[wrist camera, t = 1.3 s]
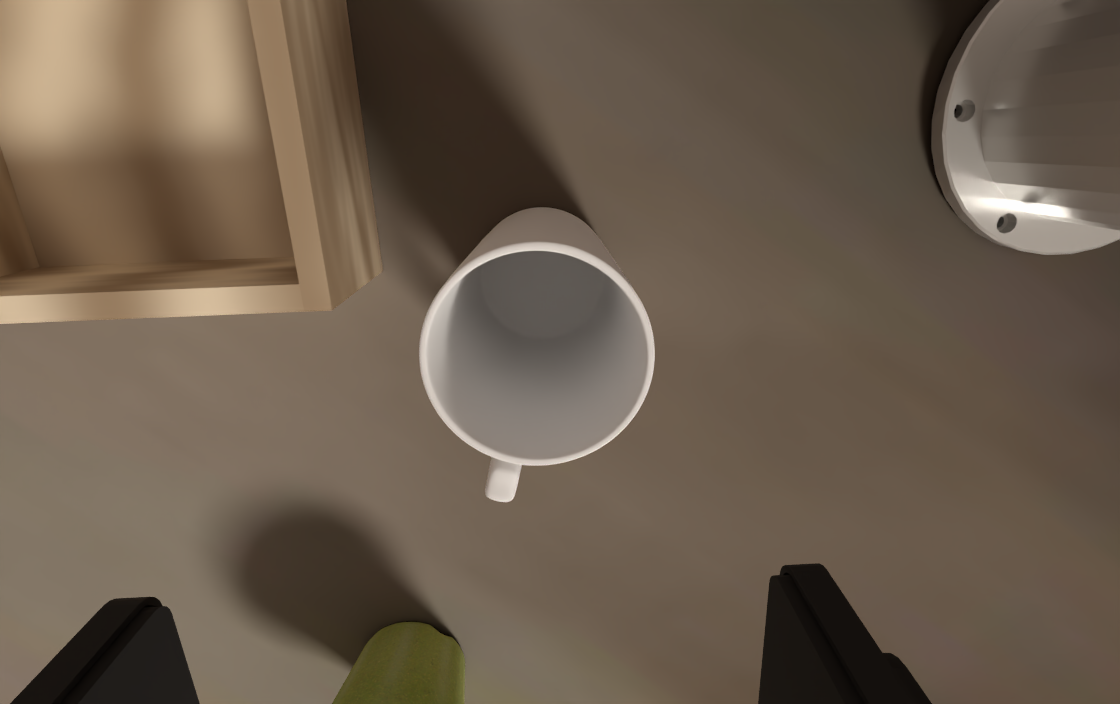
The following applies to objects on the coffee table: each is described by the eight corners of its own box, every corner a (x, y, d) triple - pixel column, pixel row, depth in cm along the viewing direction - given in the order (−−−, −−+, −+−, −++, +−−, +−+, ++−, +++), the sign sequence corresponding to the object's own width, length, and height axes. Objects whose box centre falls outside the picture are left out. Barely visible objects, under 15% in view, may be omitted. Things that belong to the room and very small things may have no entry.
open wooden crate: (326, -143, 23) (236, -257, 16) (382, 270, 28) (332, 310, 22) (-93, -126, 23) (-352, -234, 16) (41, 284, 28) (-113, 328, 22)
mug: (489, 182, 27) (445, 212, 16) (631, 221, 28) (687, 277, 16) (444, 383, 30) (380, 527, 19) (573, 414, 31) (586, 571, 20)
